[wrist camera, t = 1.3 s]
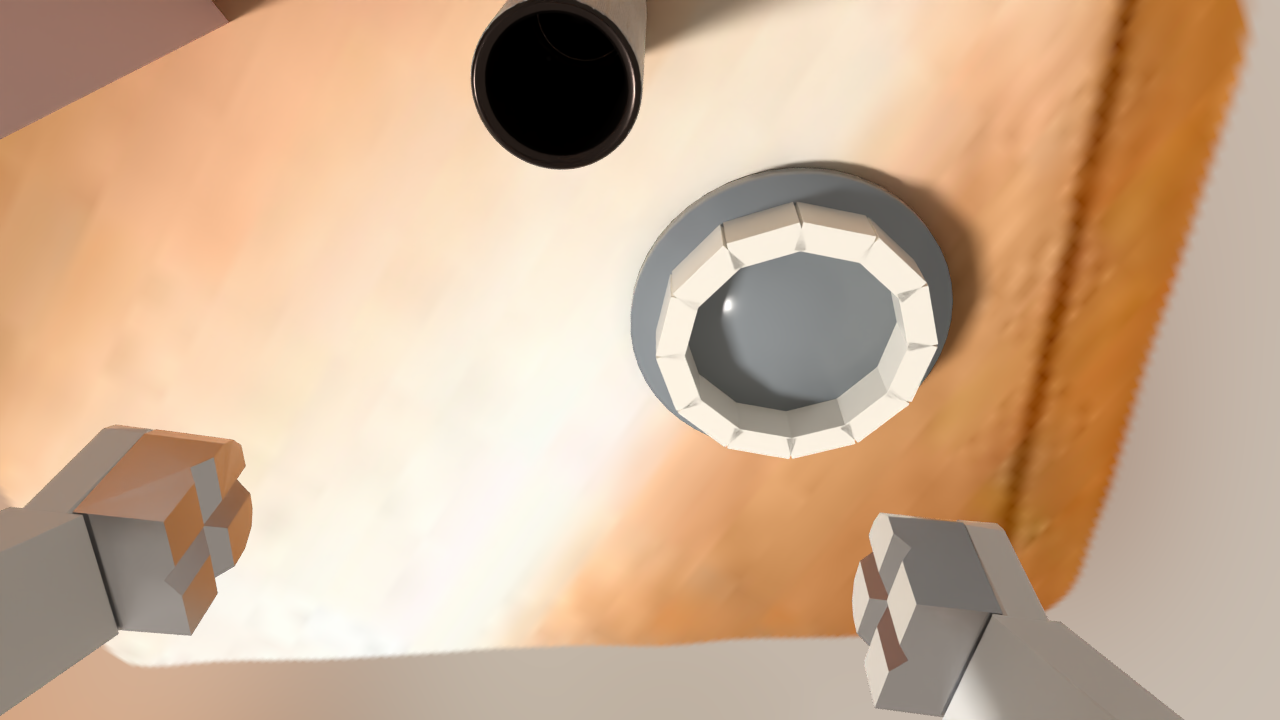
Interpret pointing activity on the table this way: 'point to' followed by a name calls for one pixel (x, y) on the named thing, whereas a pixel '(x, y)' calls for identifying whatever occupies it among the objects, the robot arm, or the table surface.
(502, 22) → the grey cylinder
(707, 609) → the table surface
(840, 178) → the ring dish
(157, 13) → the greeting card
